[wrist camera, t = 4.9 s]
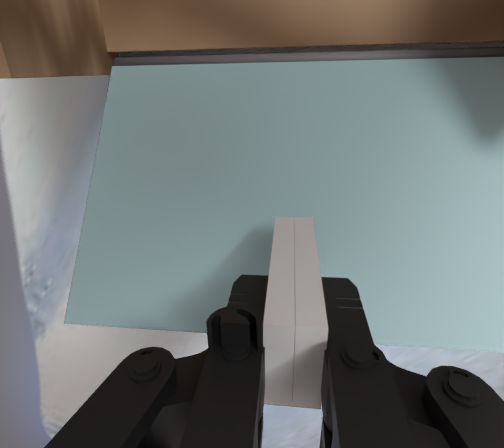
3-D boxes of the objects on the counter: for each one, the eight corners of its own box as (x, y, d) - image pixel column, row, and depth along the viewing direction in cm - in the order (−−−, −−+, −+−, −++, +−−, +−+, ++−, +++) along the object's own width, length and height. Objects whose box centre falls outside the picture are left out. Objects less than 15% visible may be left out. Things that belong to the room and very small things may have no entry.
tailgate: (114, 52, 19) (63, 323, 16) (509, 41, 17) (560, 356, 13) (122, 65, 20) (76, 322, 16) (497, 56, 18) (542, 353, 14)
